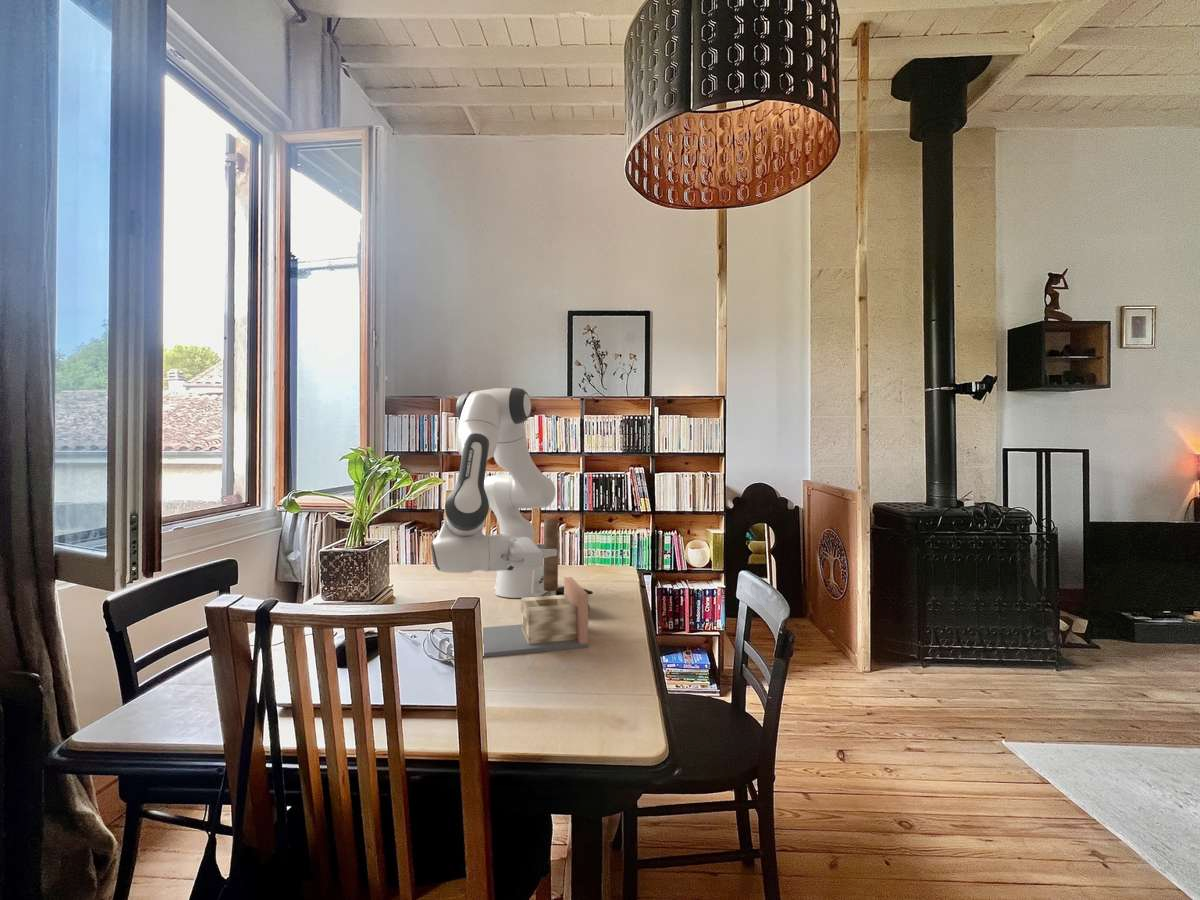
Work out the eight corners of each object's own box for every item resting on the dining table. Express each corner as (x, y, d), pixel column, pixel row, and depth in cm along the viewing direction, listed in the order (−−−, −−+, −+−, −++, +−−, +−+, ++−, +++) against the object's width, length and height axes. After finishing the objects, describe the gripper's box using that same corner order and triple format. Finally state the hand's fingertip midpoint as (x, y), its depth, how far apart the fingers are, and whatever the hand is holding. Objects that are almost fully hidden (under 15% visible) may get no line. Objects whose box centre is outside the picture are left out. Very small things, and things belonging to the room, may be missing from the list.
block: (528, 643, 138) (528, 611, 137) (521, 628, 149) (521, 597, 149) (576, 639, 141) (576, 607, 141) (565, 624, 153) (566, 594, 152)
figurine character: (549, 612, 172) (575, 619, 159) (548, 586, 172) (574, 592, 160) (568, 608, 175) (595, 615, 163) (567, 583, 176) (594, 588, 163)
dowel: (548, 586, 147) (549, 517, 147) (560, 588, 145) (560, 518, 145) (540, 589, 144) (541, 519, 143) (552, 591, 142) (553, 520, 142)
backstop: (475, 658, 131) (475, 602, 131) (470, 632, 148) (470, 582, 148) (587, 647, 139) (588, 594, 138) (570, 624, 156) (571, 577, 156)
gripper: (504, 548, 131) (563, 545, 134) (495, 533, 150) (546, 531, 154) (504, 575, 131) (563, 571, 135) (495, 556, 150) (546, 554, 154)
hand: (554, 550), depth 145 cm, fingers closed on dowel, 4 cm apart
